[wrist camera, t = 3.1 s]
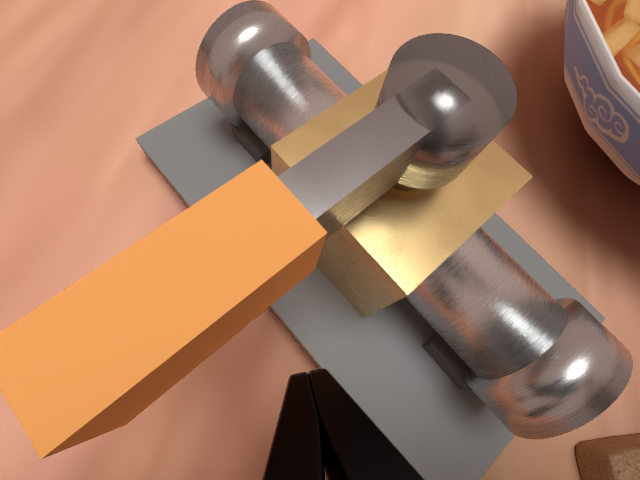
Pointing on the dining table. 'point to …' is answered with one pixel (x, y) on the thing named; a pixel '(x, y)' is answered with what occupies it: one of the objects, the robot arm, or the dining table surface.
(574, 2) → the ramen bowl
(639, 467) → the candle holder
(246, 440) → the dining table surface
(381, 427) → the valve assembly
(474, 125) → the valve lever
